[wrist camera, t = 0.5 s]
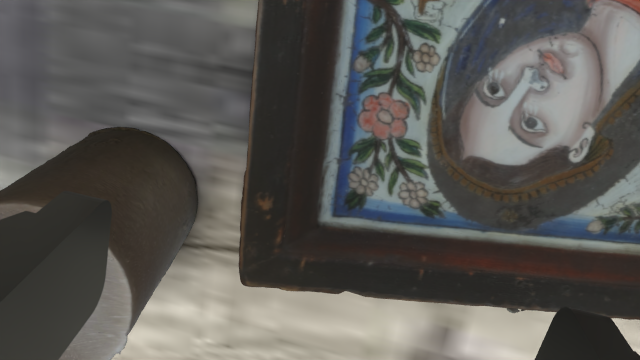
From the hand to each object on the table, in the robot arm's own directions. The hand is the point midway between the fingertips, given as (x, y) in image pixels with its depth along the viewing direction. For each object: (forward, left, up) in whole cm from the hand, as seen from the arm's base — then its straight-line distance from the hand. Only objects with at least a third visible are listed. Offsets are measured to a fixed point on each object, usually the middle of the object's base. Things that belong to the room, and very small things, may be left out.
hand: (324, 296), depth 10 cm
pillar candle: (+9, -13, -29) cm, 33 cm away
